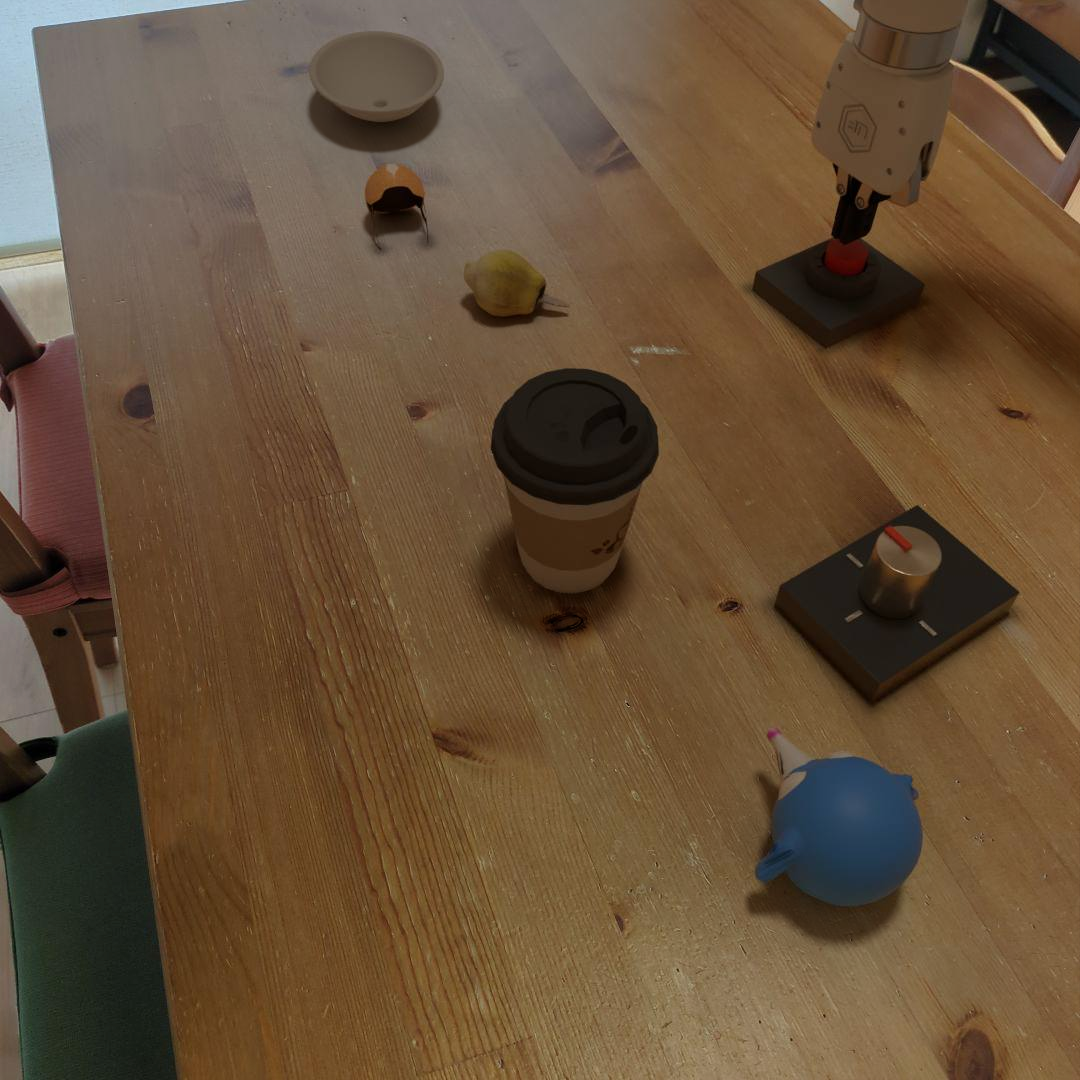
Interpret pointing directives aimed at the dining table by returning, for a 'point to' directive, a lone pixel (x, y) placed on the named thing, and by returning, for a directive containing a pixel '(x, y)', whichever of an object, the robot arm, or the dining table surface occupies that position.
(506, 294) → the fruit
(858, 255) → the button
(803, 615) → the dial panel
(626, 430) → the coffee cup
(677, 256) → the dining table surface
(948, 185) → the dining table surface
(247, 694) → the dining table surface
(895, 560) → the dial knob
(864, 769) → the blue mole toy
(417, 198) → the helmet
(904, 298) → the button box
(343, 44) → the dish
